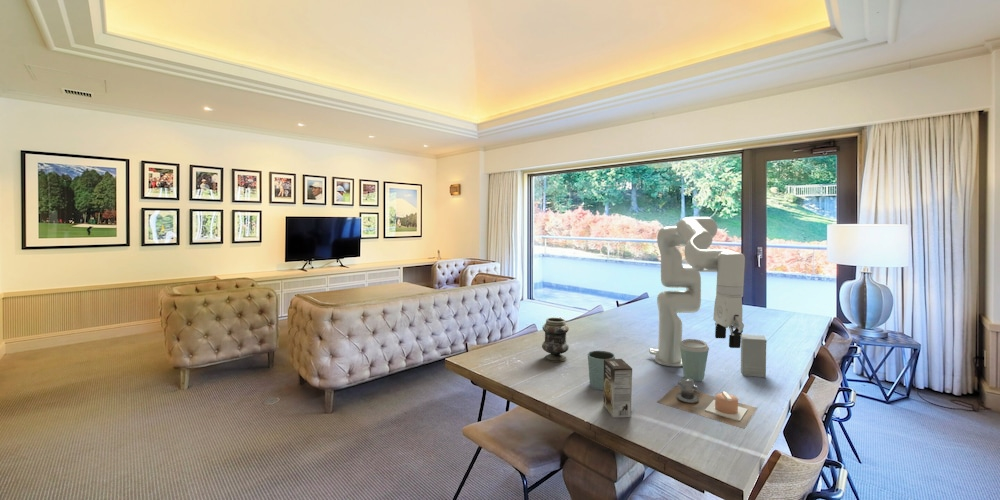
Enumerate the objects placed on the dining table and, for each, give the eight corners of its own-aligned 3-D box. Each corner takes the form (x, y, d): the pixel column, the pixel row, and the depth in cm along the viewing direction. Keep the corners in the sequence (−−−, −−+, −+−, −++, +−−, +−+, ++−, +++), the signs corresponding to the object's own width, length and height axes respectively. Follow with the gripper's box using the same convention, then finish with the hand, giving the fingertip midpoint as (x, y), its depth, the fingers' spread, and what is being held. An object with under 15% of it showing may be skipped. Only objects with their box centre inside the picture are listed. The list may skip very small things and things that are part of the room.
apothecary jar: (572, 357, 184) (573, 318, 183) (562, 365, 174) (562, 324, 173) (548, 352, 191) (549, 315, 189) (537, 359, 181) (537, 320, 179)
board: (656, 404, 136) (656, 402, 136) (675, 388, 149) (675, 385, 149) (744, 432, 119) (744, 428, 119) (757, 410, 132) (757, 407, 132)
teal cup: (599, 393, 146) (599, 360, 145) (581, 383, 155) (581, 352, 154) (620, 387, 151) (621, 356, 150) (601, 378, 159) (602, 348, 159)
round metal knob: (673, 399, 138) (673, 379, 137) (680, 393, 143) (680, 374, 142) (694, 406, 133) (695, 385, 133) (701, 399, 138) (702, 379, 138)
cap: (712, 404, 134) (712, 390, 133) (733, 405, 132) (734, 391, 132) (718, 413, 127) (719, 398, 127) (740, 415, 126) (741, 400, 126)
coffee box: (602, 405, 136) (603, 358, 135) (620, 404, 137) (621, 357, 136) (612, 418, 127) (613, 368, 126) (631, 417, 128) (632, 367, 127)
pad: (704, 411, 130) (704, 409, 130) (713, 400, 137) (713, 399, 137) (740, 421, 123) (740, 420, 123) (747, 410, 130) (747, 408, 130)
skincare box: (763, 372, 164) (764, 334, 163) (766, 379, 158) (768, 339, 157) (739, 369, 168) (740, 332, 167) (741, 375, 161) (742, 337, 160)
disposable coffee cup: (706, 387, 150) (708, 348, 149) (675, 381, 156) (676, 343, 155) (709, 378, 159) (710, 340, 158) (679, 372, 165) (680, 336, 164)
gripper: (706, 285, 138) (704, 334, 139) (730, 295, 121) (727, 351, 122) (729, 286, 137) (726, 335, 139) (756, 296, 120) (753, 352, 122)
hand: (727, 342), depth 131 cm, fingers open, 9 cm apart
